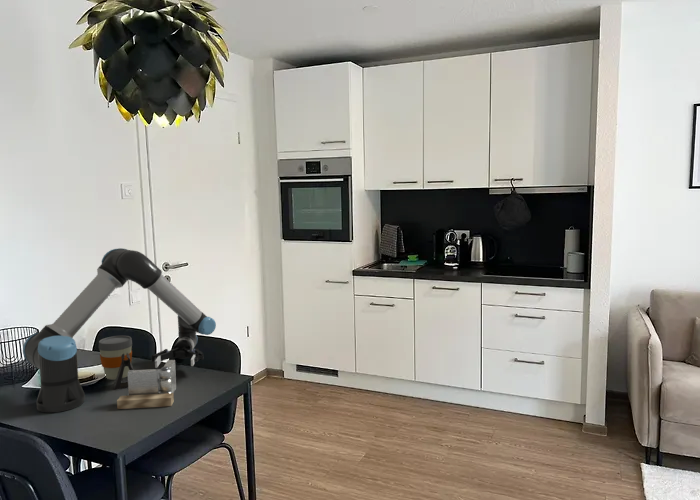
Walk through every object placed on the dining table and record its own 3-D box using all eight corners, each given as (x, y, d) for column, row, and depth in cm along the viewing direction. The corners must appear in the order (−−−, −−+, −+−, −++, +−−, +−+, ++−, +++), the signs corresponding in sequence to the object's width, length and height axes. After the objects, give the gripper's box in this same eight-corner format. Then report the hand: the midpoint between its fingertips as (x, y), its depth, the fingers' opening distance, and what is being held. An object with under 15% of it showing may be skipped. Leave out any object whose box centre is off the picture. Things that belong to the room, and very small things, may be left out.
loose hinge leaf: (159, 402, 191) (158, 372, 190) (167, 388, 205) (165, 360, 204) (171, 401, 192) (169, 371, 191) (178, 387, 205) (176, 359, 204)
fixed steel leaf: (128, 403, 190) (126, 371, 189) (131, 399, 194) (129, 367, 193) (170, 401, 192) (169, 369, 191) (173, 396, 196) (171, 365, 195)
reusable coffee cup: (96, 375, 220) (93, 339, 218) (127, 368, 228) (125, 333, 226) (106, 383, 210) (104, 346, 209) (138, 375, 219) (136, 339, 217)
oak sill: (117, 409, 185) (116, 400, 185) (121, 404, 190) (120, 395, 189) (171, 406, 188) (171, 397, 187) (173, 401, 192) (173, 393, 192)
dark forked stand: (139, 381, 213) (137, 351, 211) (140, 386, 207) (138, 355, 206) (114, 384, 209) (112, 354, 208) (114, 389, 204) (112, 358, 202)
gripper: (213, 355, 233) (207, 371, 212) (153, 357, 230) (141, 374, 209) (213, 338, 232) (206, 352, 211) (153, 340, 229) (140, 355, 208)
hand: (174, 363), depth 210 cm, fingers open, 13 cm apart
